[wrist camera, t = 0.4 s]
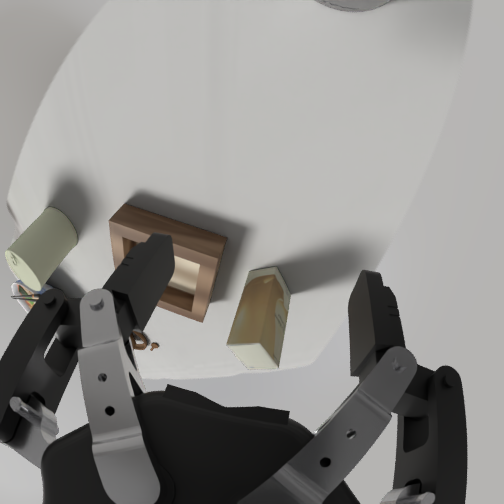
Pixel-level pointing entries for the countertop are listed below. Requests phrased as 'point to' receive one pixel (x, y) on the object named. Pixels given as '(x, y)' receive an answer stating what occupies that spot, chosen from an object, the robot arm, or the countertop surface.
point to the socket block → (185, 253)
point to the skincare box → (260, 320)
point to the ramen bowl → (27, 294)
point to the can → (41, 248)
